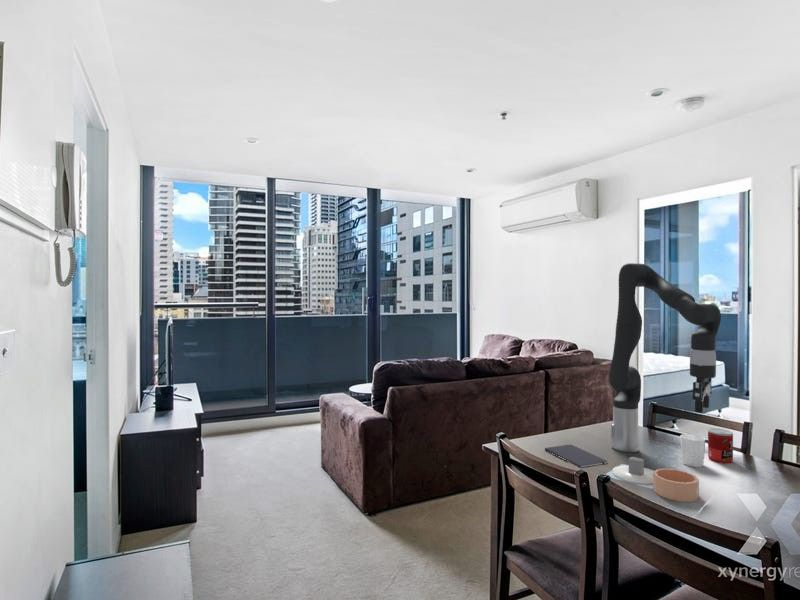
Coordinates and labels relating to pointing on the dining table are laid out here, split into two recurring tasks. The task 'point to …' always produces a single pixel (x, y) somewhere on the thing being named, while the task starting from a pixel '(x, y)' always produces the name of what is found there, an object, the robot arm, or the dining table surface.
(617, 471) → the lid
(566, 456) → the notebook
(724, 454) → the canned food
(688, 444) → the white cup
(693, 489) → the bowl
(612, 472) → the mat
